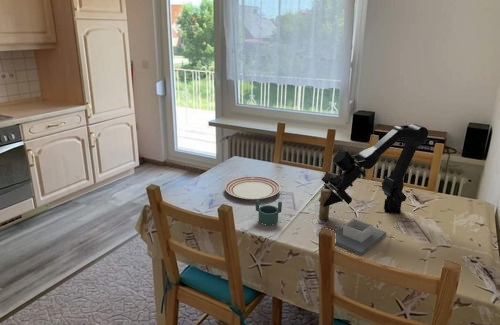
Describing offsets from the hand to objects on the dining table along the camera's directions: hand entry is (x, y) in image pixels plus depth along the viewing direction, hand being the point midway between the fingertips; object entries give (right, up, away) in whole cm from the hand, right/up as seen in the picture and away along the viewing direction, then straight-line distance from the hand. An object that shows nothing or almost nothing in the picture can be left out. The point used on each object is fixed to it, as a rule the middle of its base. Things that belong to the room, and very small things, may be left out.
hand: (321, 203), depth 152 cm
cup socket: (+11, -11, -12) cm, 20 cm away
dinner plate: (-29, +2, +28) cm, 40 cm away
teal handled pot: (-22, -7, 0) cm, 23 cm away
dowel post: (+1, -6, +2) cm, 7 cm away
